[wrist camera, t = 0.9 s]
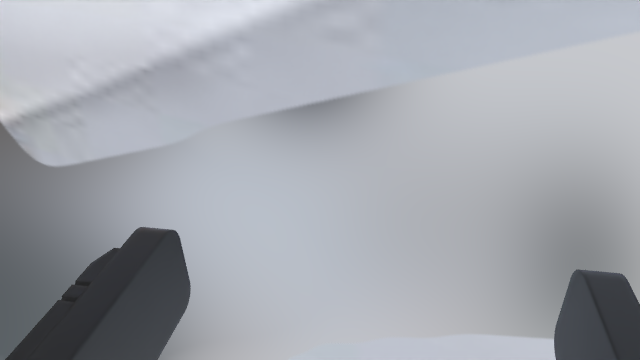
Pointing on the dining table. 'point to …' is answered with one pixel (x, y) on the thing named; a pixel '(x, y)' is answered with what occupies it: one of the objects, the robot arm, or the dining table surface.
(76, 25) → the dining table surface
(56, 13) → the dining table surface
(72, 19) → the dining table surface
